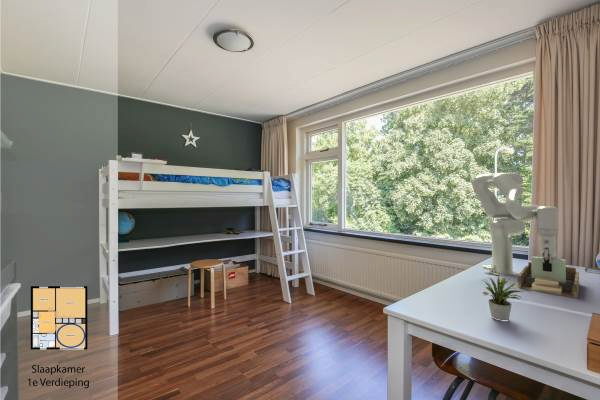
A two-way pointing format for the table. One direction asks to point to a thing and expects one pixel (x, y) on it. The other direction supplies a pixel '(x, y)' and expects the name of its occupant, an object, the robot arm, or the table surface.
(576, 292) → the rack
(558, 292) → the offcut lower
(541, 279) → the offcut upper
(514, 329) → the table surface
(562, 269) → the green panel
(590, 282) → the table surface
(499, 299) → the house plant
